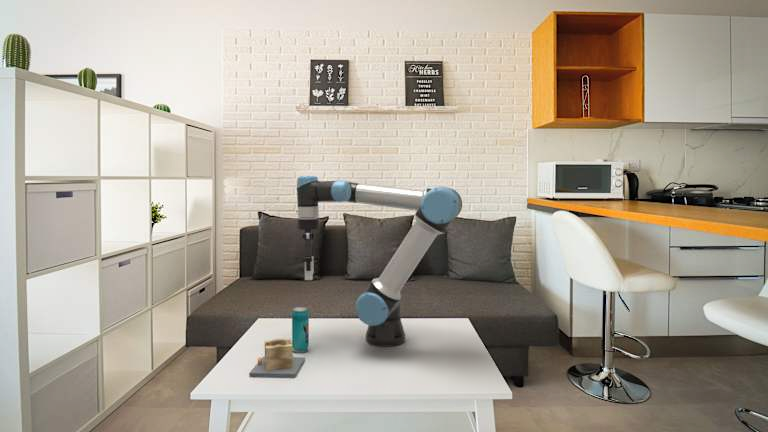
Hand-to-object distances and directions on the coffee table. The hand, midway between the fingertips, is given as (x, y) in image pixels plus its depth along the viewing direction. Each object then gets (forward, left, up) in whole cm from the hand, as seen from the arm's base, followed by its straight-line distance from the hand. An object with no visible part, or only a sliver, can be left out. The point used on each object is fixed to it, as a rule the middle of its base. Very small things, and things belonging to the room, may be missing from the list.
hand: (309, 276), depth 165 cm
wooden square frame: (+5, +23, -24) cm, 34 cm away
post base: (+5, +23, -25) cm, 34 cm away
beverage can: (+2, +6, -26) cm, 26 cm away
